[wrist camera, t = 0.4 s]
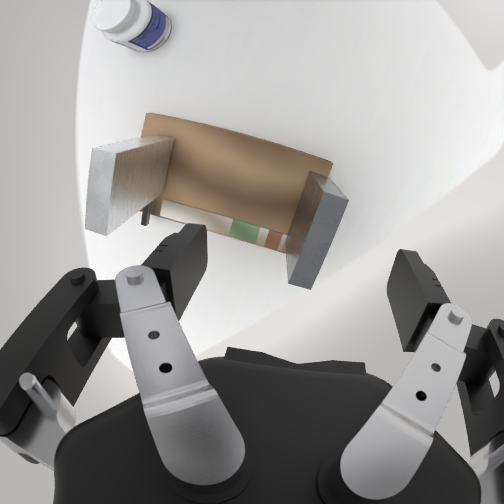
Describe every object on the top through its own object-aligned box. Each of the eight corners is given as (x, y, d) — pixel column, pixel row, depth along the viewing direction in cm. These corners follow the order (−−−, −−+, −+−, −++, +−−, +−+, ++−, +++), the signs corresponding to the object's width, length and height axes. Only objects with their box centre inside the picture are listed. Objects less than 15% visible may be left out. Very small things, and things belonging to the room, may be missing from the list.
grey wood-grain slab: (309, 170, 29) (323, 191, 21) (328, 176, 29) (348, 200, 21) (285, 240, 32) (288, 283, 24) (302, 245, 32) (310, 289, 24)
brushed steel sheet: (156, 134, 27) (92, 148, 17) (174, 138, 28) (116, 153, 17) (141, 217, 32) (84, 267, 21) (157, 221, 32) (105, 275, 21)
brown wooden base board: (150, 113, 28) (145, 113, 27) (330, 161, 29) (333, 163, 28) (133, 205, 33) (128, 208, 31) (297, 252, 34) (298, 258, 33)
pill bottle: (174, 9, 23) (143, -20, 15) (169, 50, 25) (133, 30, 17) (131, 15, 23) (91, -7, 15) (125, 55, 25) (82, 41, 17)
